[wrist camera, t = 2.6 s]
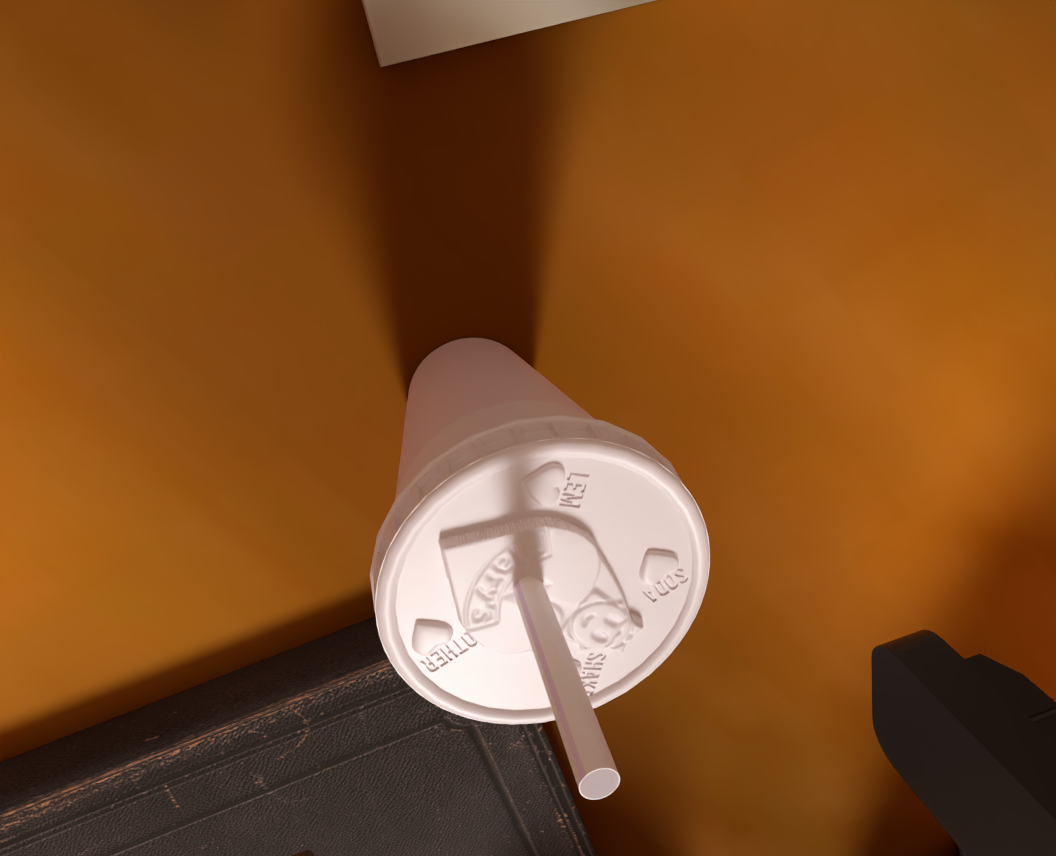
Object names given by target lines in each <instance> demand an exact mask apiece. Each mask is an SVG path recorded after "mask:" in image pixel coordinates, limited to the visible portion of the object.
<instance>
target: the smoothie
mask: <svg viewBox="0 0 1056 856" xmlns="http://www.w3.org/2000/svg"><path fill="white" fill-rule="evenodd" d="M709 567H710V547H709V538H708V533H707V529H706V525H705V522H704V519H703V517H702V514H701V511H700V509H699V507H698V505H697V504H696V502H695V500H694V498H693V497H692V495H691V494H690V492H689V491H688V489H687V488H686V487H685V486H684V485H683V483H682V481H681V479H680V478H679V476H678V474H677V473H676V471H675V469H674V468H673V466H672V464H671V463H670V462H669V461H668V460H667V459H666V458H665V457H664V456H662V455H661V454H660V453H659V452H658V451H657V450H656V449H654V448H653V447H652V446H651V445H650V444H649V443H648V442H646V441H645V440H644V439H643V438H642V437H640V436H637V435H635V434H633V433H631V432H628V431H626V430H624V429H622V428H619V427H617V426H615V425H613V424H610V423H608V422H606V421H602V420H595V419H594V418H593V417H592V416H590V415H589V414H588V413H587V412H586V411H584V410H583V409H582V408H581V407H580V406H578V405H577V404H576V403H575V402H574V401H572V400H571V399H570V398H569V397H567V396H566V395H565V394H564V393H563V392H561V391H560V390H559V389H558V388H557V387H555V386H554V385H553V384H552V383H551V382H549V381H548V380H547V379H546V378H545V377H543V376H542V375H541V374H540V373H538V372H537V371H536V370H535V369H534V368H532V367H531V366H530V365H529V364H528V363H526V362H525V361H524V360H523V359H522V358H520V357H519V356H518V355H517V354H516V353H514V352H513V351H512V350H510V349H509V348H508V347H506V346H504V345H503V344H500V343H498V342H496V341H493V340H489V339H484V338H463V339H458V340H454V341H451V342H449V343H446V344H444V345H442V346H440V347H439V348H437V349H435V350H434V351H433V352H431V353H430V354H429V355H428V356H427V357H426V358H425V359H424V360H423V361H422V362H421V364H420V365H419V366H418V368H417V370H416V371H415V373H414V375H413V377H412V380H411V383H410V387H409V393H408V400H407V409H406V417H405V425H404V433H403V441H402V450H401V458H400V466H399V474H398V482H397V490H396V499H395V501H394V503H393V505H392V507H391V509H390V511H389V513H388V515H387V517H386V519H385V521H384V522H383V524H382V526H381V528H380V530H379V532H378V534H377V539H376V544H375V549H374V554H373V560H372V565H371V570H370V580H371V588H372V595H373V603H374V611H375V614H376V623H377V628H378V632H379V636H380V640H381V642H382V645H383V648H384V650H385V653H386V654H387V656H388V658H389V660H390V662H391V664H392V665H393V667H394V668H395V669H396V671H397V672H398V674H399V675H400V676H401V677H402V678H403V680H404V681H405V682H406V683H407V684H408V685H409V686H410V687H411V688H412V689H414V690H415V691H416V692H417V693H418V694H420V695H421V696H422V697H424V698H425V699H427V700H428V701H429V702H431V703H433V704H435V705H437V706H438V707H440V708H442V709H444V710H447V711H449V712H451V713H454V714H456V715H459V716H463V717H466V718H469V719H473V720H478V721H482V722H489V723H497V724H511V725H514V724H531V723H543V722H548V721H553V720H556V723H557V726H558V729H559V732H560V735H561V738H562V741H563V744H564V747H565V750H566V753H567V756H568V759H569V762H570V765H571V768H572V771H573V774H574V777H575V780H576V783H577V786H578V789H579V792H580V794H581V795H582V796H583V797H584V798H586V799H591V800H596V799H602V798H604V797H607V796H608V795H610V794H611V793H613V792H614V791H615V790H616V789H617V787H618V785H619V783H620V776H619V773H618V771H617V768H616V766H615V763H614V761H613V758H612V756H611V753H610V751H609V748H608V746H607V743H606V741H605V738H604V735H603V733H602V730H601V728H600V725H599V723H598V720H597V718H596V715H595V713H594V710H593V708H596V707H599V706H601V705H603V704H605V703H606V702H608V701H610V700H612V699H614V698H616V697H618V696H620V695H621V694H623V693H625V692H627V691H628V690H629V689H631V688H632V687H634V686H635V685H636V684H638V683H639V682H641V681H642V680H643V679H644V678H646V677H647V676H649V675H650V674H651V673H652V672H653V671H654V670H655V669H656V668H657V667H658V666H659V665H660V664H661V663H662V662H663V661H664V660H665V659H666V658H667V657H668V656H669V655H670V654H671V653H672V652H673V650H674V649H675V648H676V646H677V645H678V644H679V643H680V641H681V640H682V638H683V637H684V635H685V634H686V632H687V631H688V629H689V628H690V626H691V624H692V622H693V620H694V619H695V617H696V614H697V612H698V610H699V608H700V605H701V603H702V600H703V597H704V594H705V590H706V586H707V581H708V576H709Z"/></svg>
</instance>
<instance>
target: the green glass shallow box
mask: <svg viewBox="0 0 1056 856" xmlns="http://www.w3.org/2000/svg"><path fill="white" fill-rule="evenodd" d="M651 1H655V0H362V3H363V6H364V10H365V14H366V17H367V21H368V25H369V28H370V32H371V35H372V39H373V43H374V46H375V50H376V54H377V57H378V61H379V64H380V67H383V66H388V65H392V64H396V63H400V62H404V61H408V60H412V59H416V58H420V57H425V56H429V55H433V54H437V53H441V52H445V51H449V50H453V49H458V48H462V47H466V46H470V45H474V44H478V43H482V42H486V41H490V40H495V39H499V38H503V37H507V36H511V35H515V34H519V33H523V32H527V31H532V30H536V29H540V28H544V27H548V26H552V25H556V24H560V23H564V22H569V21H573V20H577V19H581V18H585V17H589V16H593V15H597V14H601V13H606V12H610V11H614V10H618V9H622V8H626V7H630V6H634V5H639V4H643V3H647V2H651Z"/></svg>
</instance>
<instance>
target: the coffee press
mask: <svg viewBox="0 0 1056 856" xmlns="http://www.w3.org/2000/svg"><path fill="white" fill-rule="evenodd" d="M957 852H958V856H966V855H965V854H964V852H963V851H962V850H961V849H960V847H959V846H958V845H957Z"/></svg>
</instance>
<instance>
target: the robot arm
mask: <svg viewBox="0 0 1056 856" xmlns="http://www.w3.org/2000/svg"><path fill="white" fill-rule="evenodd" d="M872 715H873V725H874V730H875V733H876V736H877V738H878V741H879V743H880V745H881V747H882V749H883V751H884V753H885V755H886V756H887V758H888V759H889V761H890V762H891V764H892V765H893V766H894V768H895V769H896V770H897V772H898V773H899V774H900V775H901V776H902V778H903V779H904V780H905V781H906V783H907V784H908V785H909V786H910V787H911V789H912V790H913V791H914V792H915V794H916V795H917V796H918V797H919V798H920V800H921V801H922V802H923V803H924V805H925V806H926V807H927V808H928V809H929V811H930V812H931V813H932V814H933V816H934V817H935V818H936V819H937V820H938V822H939V823H940V824H941V825H942V827H943V828H944V829H945V830H946V832H947V833H948V834H949V835H950V836H951V838H952V839H953V840H954V841H955V843H956V844H957V845H958V846H959V847H960V849H961V850H962V851H963V852H964V854H965V855H966V856H1056V703H1055V702H1054V701H1053V700H1052V699H1051V698H1050V697H1049V696H1047V695H1046V694H1045V693H1044V692H1043V691H1042V690H1040V689H1039V688H1038V687H1037V686H1036V685H1035V684H1033V683H1032V682H1031V681H1030V680H1029V679H1028V678H1026V677H1025V676H1024V675H1023V674H1021V673H1019V672H1016V671H1014V670H1012V669H1010V668H1008V667H1006V666H1004V665H1002V664H1000V663H998V662H996V661H994V660H992V659H990V658H988V657H986V656H983V655H981V654H978V655H975V656H973V657H970V658H967V659H963V658H962V657H961V656H960V655H959V654H958V653H957V652H956V651H955V650H954V649H953V648H951V647H950V646H949V645H948V644H947V643H946V642H945V641H944V640H943V639H942V638H940V637H939V636H938V635H937V634H935V633H933V632H931V631H929V630H921V631H918V632H915V633H912V634H910V635H907V636H904V637H901V638H899V639H896V640H893V641H890V642H888V643H885V644H882V645H879V646H877V647H875V648H874V649H873V651H872ZM291 856H315V855H314V853H313V852H312V851H310V850H305V851H302V852H300V853H297V854H294V855H291Z"/></svg>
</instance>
